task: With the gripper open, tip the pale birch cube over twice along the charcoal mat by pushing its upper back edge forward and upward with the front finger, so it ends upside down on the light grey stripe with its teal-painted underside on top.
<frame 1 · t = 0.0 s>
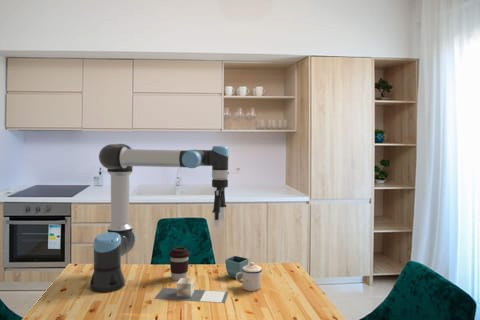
hand: (219, 223, 183), 28 cm above the table, tool pointing down, fingers open, 13 cm apart
charcoal mat: (192, 296, 166), on the table
coffee cup: (179, 280, 186), on the table
birch cube: (185, 294, 167), point 1 cm above the table, touching charcoal mat
teacup with lid: (248, 288, 178), on the table
flower pot: (236, 277, 191), on the table
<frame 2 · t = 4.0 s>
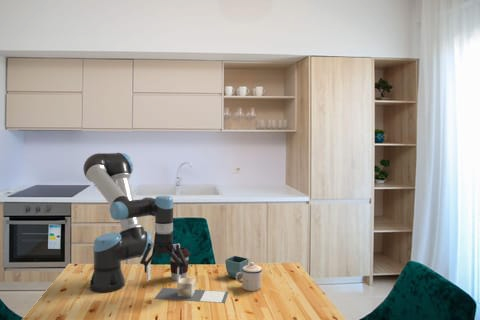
hand: (163, 280, 167), 6 cm above the table, tool pointing down, fingers open, 13 cm apart
birch cube: (186, 294, 167), point 1 cm above the table, touching charcoal mat, gripper
everything else where it was.
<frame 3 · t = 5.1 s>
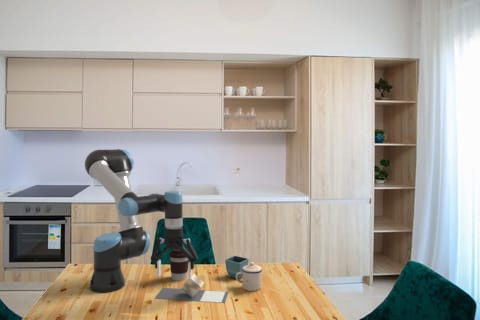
hand: (174, 276, 166), 9 cm above the table, tool pointing down, fingers open, 13 cm apart
birch cube: (188, 290, 166), point 3 cm above the table, tilted 40°, touching charcoal mat, gripper
everything else where it was.
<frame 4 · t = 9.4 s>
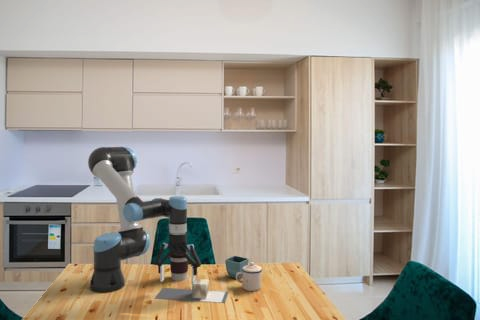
hand: (177, 281, 167), 6 cm above the table, tool pointing down, fingers open, 13 cm apart
birch cube: (193, 288, 166), point 4 cm above the table, tilted 90°, touching charcoal mat, gripper
everything else where it was.
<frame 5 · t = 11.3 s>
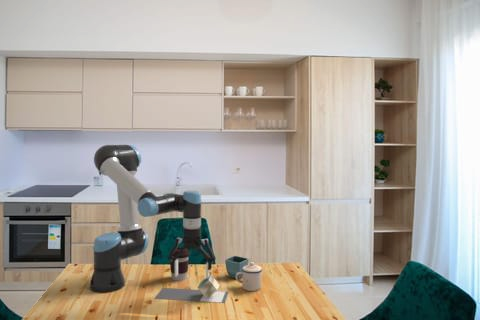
hand: (191, 276, 166), 9 cm above the table, tool pointing down, fingers open, 13 cm apart
birch cube: (204, 280, 165), point 7 cm above the table, tilted 140°, touching charcoal mat, gripper
everything else where it was.
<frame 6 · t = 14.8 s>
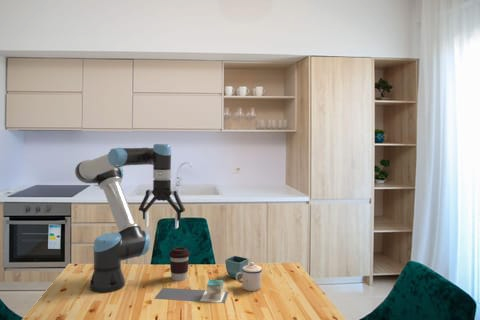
hand: (161, 227, 170), 29 cm above the table, tool pointing down, fingers open, 13 cm apart
birch cube: (215, 282, 165), point 7 cm above the table, tilted 180°, touching charcoal mat
everything else where it was.
at the end: birch cube tilted 180°; birch cube inside the target area (0.3 cm from its centre), point 6.8 cm above the table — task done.
